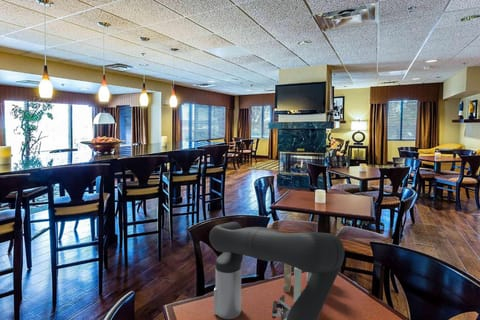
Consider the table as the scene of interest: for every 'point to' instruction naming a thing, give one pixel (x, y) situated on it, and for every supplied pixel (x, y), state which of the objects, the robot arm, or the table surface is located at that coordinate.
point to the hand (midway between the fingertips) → (295, 299)
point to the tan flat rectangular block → (287, 278)
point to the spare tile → (297, 283)
